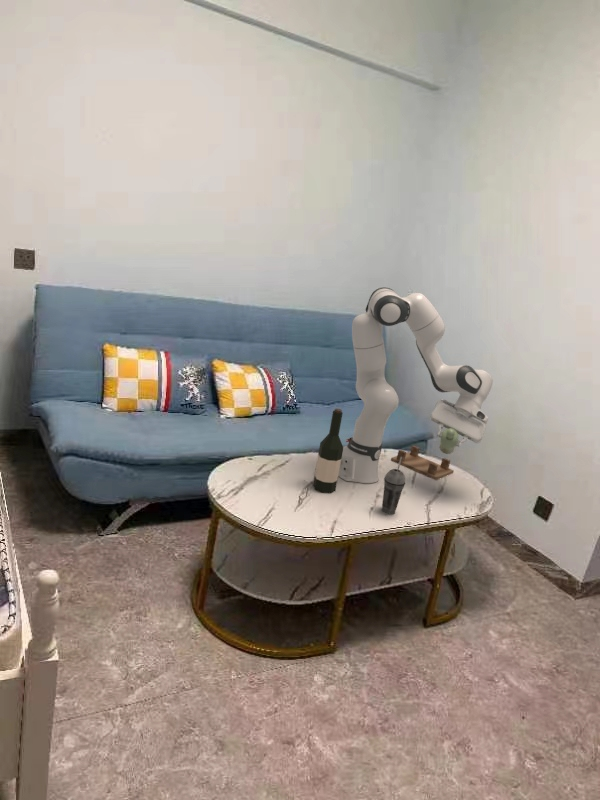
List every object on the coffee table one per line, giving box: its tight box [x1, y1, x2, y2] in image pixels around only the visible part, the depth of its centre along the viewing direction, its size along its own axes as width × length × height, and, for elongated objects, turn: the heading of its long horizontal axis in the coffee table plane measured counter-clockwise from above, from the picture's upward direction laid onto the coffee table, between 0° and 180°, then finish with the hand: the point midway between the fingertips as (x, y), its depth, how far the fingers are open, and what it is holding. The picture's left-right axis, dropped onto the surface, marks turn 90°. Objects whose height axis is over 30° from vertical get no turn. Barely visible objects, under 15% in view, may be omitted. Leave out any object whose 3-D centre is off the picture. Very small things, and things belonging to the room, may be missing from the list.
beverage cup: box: [381, 457, 406, 516], centre depth 211 cm, size 7×7×20 cm
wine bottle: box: [312, 408, 344, 494], centre depth 219 cm, size 8×8×30 cm
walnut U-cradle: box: [390, 445, 454, 481], centre depth 259 cm, size 22×14×5 cm, turn 48°
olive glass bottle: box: [439, 428, 459, 455], centre depth 227 cm, size 6×6×17 cm
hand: (448, 441), depth 227 cm, fingers closed on olive glass bottle, 6 cm apart
